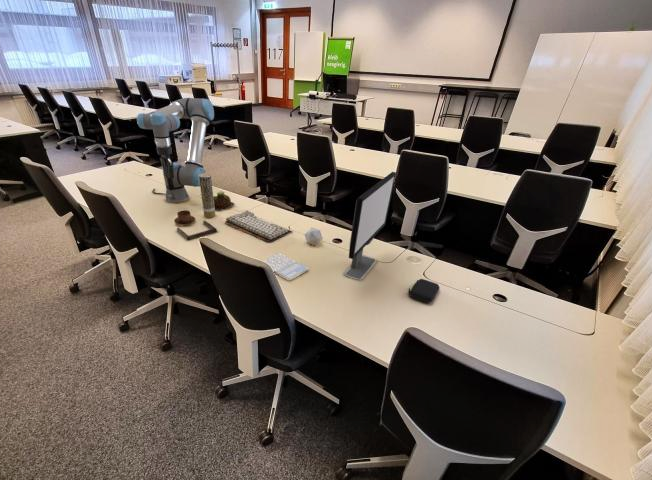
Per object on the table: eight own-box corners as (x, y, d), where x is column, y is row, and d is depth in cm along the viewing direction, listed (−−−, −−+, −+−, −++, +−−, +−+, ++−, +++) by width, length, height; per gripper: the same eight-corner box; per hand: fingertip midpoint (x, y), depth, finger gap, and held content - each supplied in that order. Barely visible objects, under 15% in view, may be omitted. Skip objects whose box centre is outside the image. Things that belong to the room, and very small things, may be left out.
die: (324, 244, 177) (320, 226, 177) (321, 243, 168) (317, 224, 168) (309, 248, 179) (305, 230, 179) (306, 247, 171) (301, 228, 170)
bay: (177, 231, 184) (176, 228, 183) (205, 223, 193) (204, 220, 192) (188, 240, 175) (187, 237, 174) (216, 232, 184) (216, 228, 183)
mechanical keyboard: (292, 231, 187) (292, 226, 185) (269, 243, 175) (269, 237, 173) (245, 214, 206) (245, 208, 204) (222, 223, 194) (221, 218, 192)
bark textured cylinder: (216, 214, 204) (212, 173, 189) (213, 218, 198) (208, 176, 184) (206, 213, 204) (200, 172, 189) (202, 218, 199) (196, 176, 184)
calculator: (278, 255, 165) (278, 252, 164) (308, 270, 154) (309, 267, 153) (259, 265, 157) (258, 261, 156) (289, 281, 146) (289, 278, 145)
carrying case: (415, 281, 149) (404, 296, 139) (416, 275, 147) (406, 290, 137) (439, 289, 144) (430, 306, 134) (441, 283, 142) (432, 300, 132)
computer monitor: (352, 290, 142) (368, 200, 118) (334, 284, 145) (346, 195, 121) (383, 252, 170) (401, 173, 146) (368, 248, 173) (383, 169, 149)
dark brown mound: (219, 199, 224) (217, 185, 218) (239, 204, 218) (238, 189, 213) (203, 208, 211) (201, 193, 205) (224, 213, 206) (222, 197, 200)
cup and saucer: (190, 228, 188) (188, 217, 184) (171, 225, 189) (169, 215, 186) (199, 219, 197) (197, 209, 193) (180, 217, 199) (178, 207, 195)
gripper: (152, 144, 179) (161, 188, 193) (161, 149, 171) (170, 194, 185) (165, 143, 183) (173, 185, 197) (175, 147, 175) (182, 191, 189)
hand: (171, 189), depth 191 cm, fingers closed
